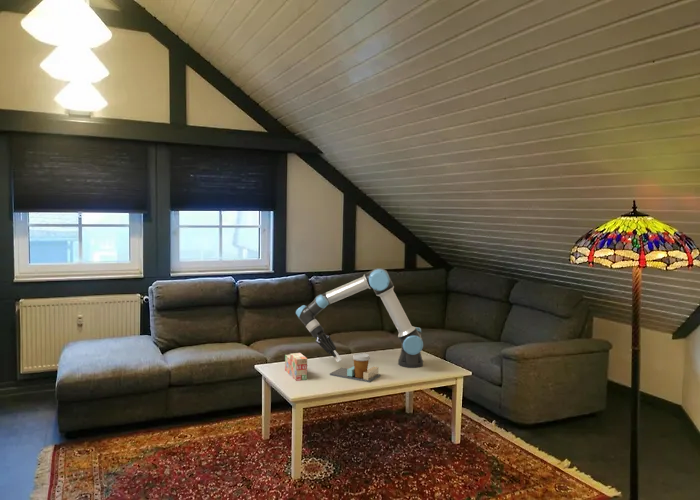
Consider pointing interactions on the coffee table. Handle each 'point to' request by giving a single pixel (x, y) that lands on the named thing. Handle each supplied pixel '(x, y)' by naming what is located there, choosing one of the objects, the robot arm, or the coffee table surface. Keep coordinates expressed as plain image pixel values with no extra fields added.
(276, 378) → the coffee table surface
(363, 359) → the disposable coffee cup
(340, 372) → the base
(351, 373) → the bar
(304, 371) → the stack of blocks
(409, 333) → the robot arm
